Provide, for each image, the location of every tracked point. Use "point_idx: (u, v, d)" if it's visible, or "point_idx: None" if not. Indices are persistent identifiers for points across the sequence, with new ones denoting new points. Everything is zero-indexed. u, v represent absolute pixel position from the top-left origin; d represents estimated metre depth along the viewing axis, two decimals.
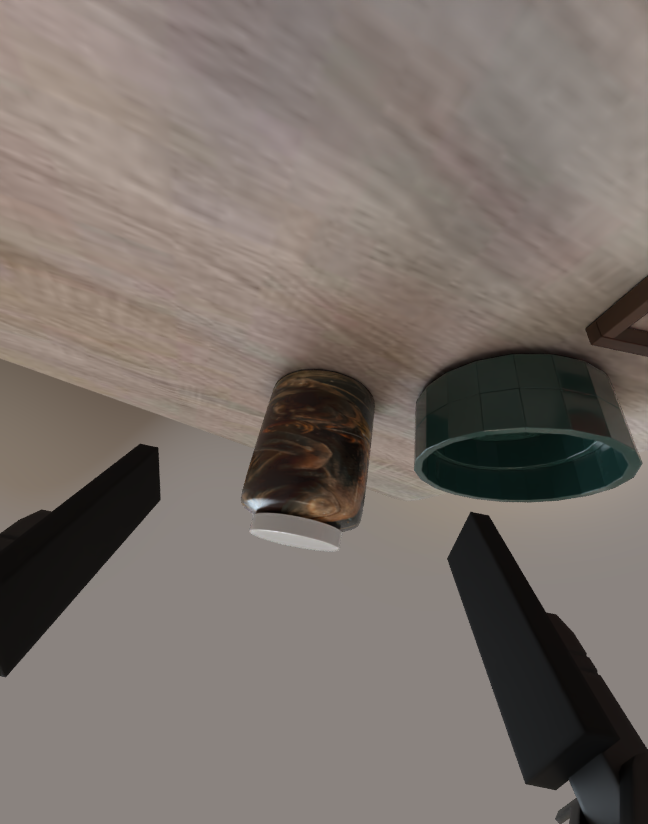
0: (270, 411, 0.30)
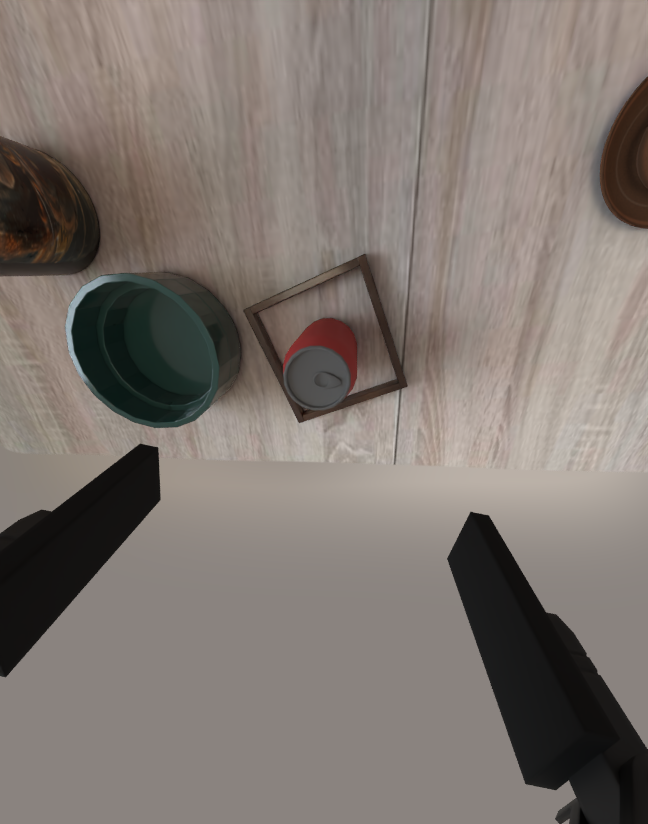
0: None
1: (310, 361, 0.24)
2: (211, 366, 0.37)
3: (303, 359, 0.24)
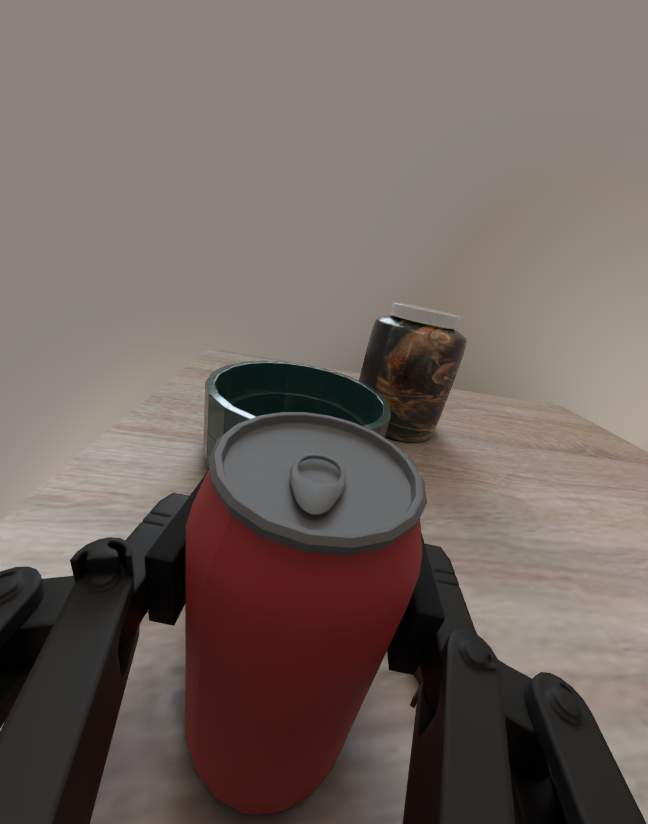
0: None
1: (368, 463, 0.09)
2: None
3: (369, 453, 0.09)
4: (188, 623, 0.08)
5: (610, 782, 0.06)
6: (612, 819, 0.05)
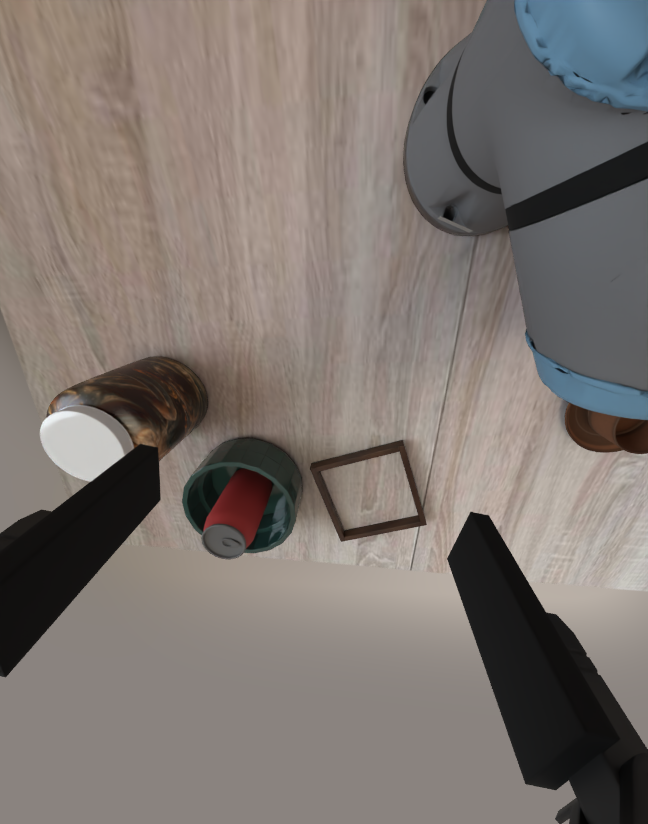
0: (148, 365, 0.37)
1: (219, 531, 0.36)
2: (277, 498, 0.48)
3: (214, 530, 0.36)
4: None
5: None
6: None
